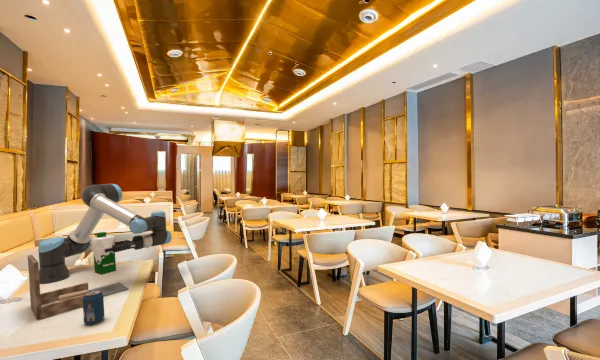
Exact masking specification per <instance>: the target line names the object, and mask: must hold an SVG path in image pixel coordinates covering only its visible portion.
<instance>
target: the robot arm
mask: <svg viewBox="0 0 600 360" xmlns="http://www.w3.org/2000/svg"><path fill="white" fill-rule="evenodd" d="M81 200H82V203H83V204H84V205H86V206H87V207H88V209H87V211H86V212H85V213H84V216H83V217H82V218H81V219H80V221H79V223H78V225H77V226H76V228H75V229H74V230H72V231H70V233H69V234H68V235H67V237H65V238H64V237H61V236H58V237H53V238H52V237H51V238H48V239H44V240H42V241H41V242H39V244H38V249H37V251H38V260H39V261H38V265H39V281H40V284H50V283H55V282H59V281H63V280H66V279H67V278H69V277H70V276H71V275H70V271H69V268H68V267H67V264H66V258H68V257H74V256H77V255H81V254H83V253H85V252H87V251H88V250H90V248H91V252H92V253H93V245H92V243H91V242H92V237H91V235H92V233H93V231H95V228H96V227H97V225H98V224H99V222H100V220H101V219H102V218H103V216H104V214H106V215H107V216H109V217H111V218H113V219H115V220H117V221H119V222H121V223H122V224H123V225H125V226H128V227H129V231H130V232H131V233H132V234H135V235H134V236H133V237H132V239H131V240H130V239H124V240H118V241H116V240H115V245H112V247H106V248H100V249H96V253H97V255H99V254H104V253H109V252H112V251H113V252H115V253H119V252H122V251H123V252H124V251H127V250H131V249H133V250H135V251H137V250H142V249H149V248H152V247H156V246H163V245H167V244H169V243H171V242H172V239H173V238H172V237H173V236H172V233H171V231H170V230H167V217H166V212H165V211H164V210H155V211H152V212H151V214H150V216H146V217H144V216H141V215H139V214H138V213H136V212H134V211H132V210H130V209H128V208H126V207H124V206H123V205H121V204H119V202H120V201H122V200H123V191H122V188H121V187H120V186H119V185H118V184H116V183H104V184H103V183H102V184H91V185H89V186H87V187H85V188H84V189H83V190H82V192H81ZM149 231H151V233H147V232H149ZM145 232H146V233H145ZM143 233H144V234H143ZM138 234H139V235H138ZM140 234H141V235H140Z"/></svg>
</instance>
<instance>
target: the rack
mask: <svg viewBox="0 0 600 360" xmlns="http://www.w3.org/2000/svg"><path fill="white" fill-rule="evenodd" d="M27 265H28V267H27V268H28V280H29V281H28V283H29V297H30V308H31V310H32V313H33V315H34V316H35V319H36V321H41V320H44V319H47V318H50V317H54V316H57V315H61V314H64V313H67V312H71V311H74V310H77V309H81V308H83V297H84V295H81V296H77V297H73V298H70V299H66V300H62V301H59V296H61V295H65V294H70V293H75V292H79V291H84V290H88V292H89V290H90V289H89V282H87V281H86V282H82V283H79V284H75V285H70V286H67V287H63V288H59V289H54V290H51V291H47V292H43V293H41V286H40V285H41V283H40V281H39V269H40V266H39V261H38V260H37V259H36V258H35V257H34V255H33V254H28V255H27Z"/></svg>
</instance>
